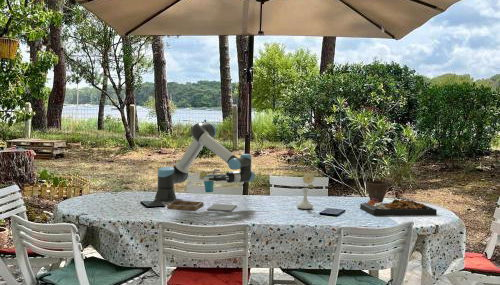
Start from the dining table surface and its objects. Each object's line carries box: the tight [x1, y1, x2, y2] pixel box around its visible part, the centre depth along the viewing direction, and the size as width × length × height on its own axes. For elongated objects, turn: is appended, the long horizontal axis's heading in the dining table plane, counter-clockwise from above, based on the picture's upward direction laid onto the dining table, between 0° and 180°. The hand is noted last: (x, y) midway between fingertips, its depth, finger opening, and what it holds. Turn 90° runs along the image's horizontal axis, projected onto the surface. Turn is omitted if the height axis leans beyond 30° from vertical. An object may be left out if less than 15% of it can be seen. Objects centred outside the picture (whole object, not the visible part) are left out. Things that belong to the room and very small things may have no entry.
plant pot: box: [366, 180, 388, 203], centre depth 457 cm, size 15×15×16 cm
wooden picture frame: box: [167, 199, 204, 211], centre depth 426 cm, size 20×18×2 cm
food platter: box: [359, 196, 438, 217], centre depth 428 cm, size 45×25×10 cm, turn 101°
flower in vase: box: [296, 173, 315, 210], centre depth 430 cm, size 13×11×25 cm
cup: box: [199, 169, 221, 193], centre depth 422 cm, size 14×8×15 cm, turn 106°
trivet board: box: [206, 203, 238, 213], centre depth 424 cm, size 16×20×1 cm
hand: (201, 178), depth 419 cm, fingers closed on cup, 8 cm apart
